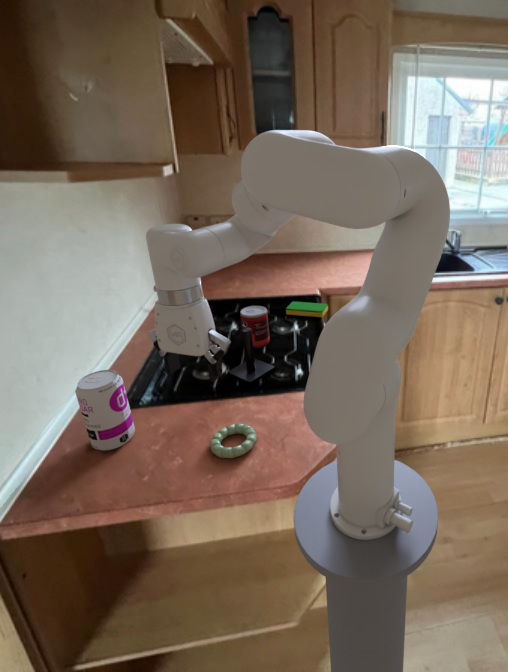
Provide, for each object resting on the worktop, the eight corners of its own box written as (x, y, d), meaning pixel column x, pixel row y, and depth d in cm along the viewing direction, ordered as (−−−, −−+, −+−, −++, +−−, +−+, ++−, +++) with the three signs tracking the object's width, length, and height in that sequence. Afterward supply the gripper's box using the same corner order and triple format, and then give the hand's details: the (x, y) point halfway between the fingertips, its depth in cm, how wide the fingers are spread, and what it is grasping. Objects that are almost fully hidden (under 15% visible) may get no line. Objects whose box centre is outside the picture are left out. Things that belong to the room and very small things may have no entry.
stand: (275, 370, 113) (271, 327, 109) (250, 386, 106) (244, 340, 102) (252, 361, 118) (248, 319, 113) (227, 375, 111) (221, 331, 106)
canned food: (248, 336, 132) (244, 305, 128) (272, 337, 132) (269, 305, 128) (240, 348, 125) (236, 315, 121) (266, 348, 125) (263, 315, 121)
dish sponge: (293, 307, 155) (292, 301, 154) (328, 309, 152) (328, 303, 151) (285, 314, 148) (285, 308, 147) (322, 317, 146) (322, 311, 145)
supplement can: (143, 426, 92) (129, 368, 87) (121, 453, 84) (104, 391, 79) (107, 425, 92) (91, 367, 87) (82, 452, 84) (63, 390, 79)
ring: (265, 439, 88) (265, 432, 87) (231, 467, 81) (230, 458, 80) (237, 424, 93) (236, 416, 92) (201, 448, 85) (200, 440, 85)
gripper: (124, 296, 73) (143, 378, 79) (209, 305, 69) (222, 392, 75) (155, 282, 80) (170, 359, 86) (234, 290, 76) (244, 370, 82)
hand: (194, 374), depth 80 cm, fingers open, 9 cm apart
